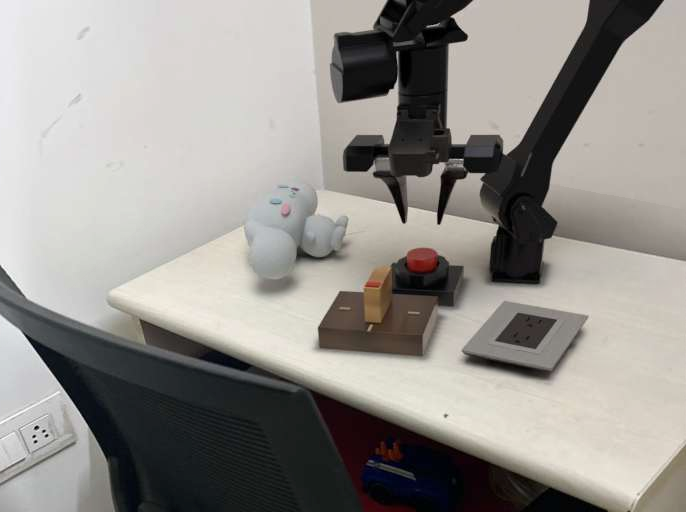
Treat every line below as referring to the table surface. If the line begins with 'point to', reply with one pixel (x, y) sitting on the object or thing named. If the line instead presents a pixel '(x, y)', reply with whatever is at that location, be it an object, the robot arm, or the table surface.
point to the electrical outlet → (525, 336)
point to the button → (422, 259)
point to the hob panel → (379, 325)
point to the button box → (428, 281)
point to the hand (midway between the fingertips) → (421, 223)
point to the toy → (288, 229)
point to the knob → (378, 294)
